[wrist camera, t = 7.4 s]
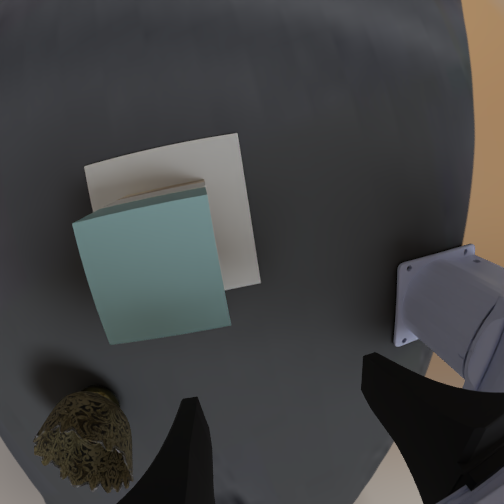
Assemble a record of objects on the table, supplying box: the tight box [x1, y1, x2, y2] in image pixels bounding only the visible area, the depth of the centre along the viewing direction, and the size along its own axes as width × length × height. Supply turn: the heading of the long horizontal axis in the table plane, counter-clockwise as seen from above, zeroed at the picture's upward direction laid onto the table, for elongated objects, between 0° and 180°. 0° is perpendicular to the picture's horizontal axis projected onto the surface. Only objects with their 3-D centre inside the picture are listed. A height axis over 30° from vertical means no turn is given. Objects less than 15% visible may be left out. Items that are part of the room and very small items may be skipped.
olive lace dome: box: [33, 385, 133, 493], centre depth 19 cm, size 8×7×8 cm
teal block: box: [72, 187, 231, 345], centre depth 13 cm, size 5×5×4 cm
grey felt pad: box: [84, 133, 261, 290], centre depth 20 cm, size 10×10×1 cm
